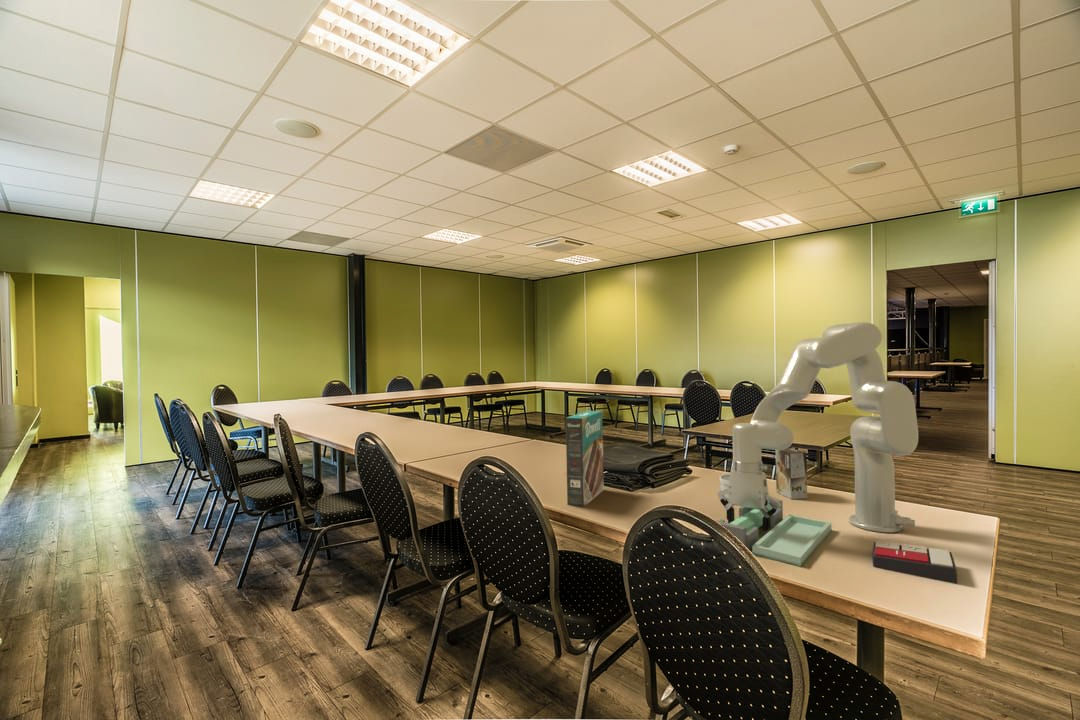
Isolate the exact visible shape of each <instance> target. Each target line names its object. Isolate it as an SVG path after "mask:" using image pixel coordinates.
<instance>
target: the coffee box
mask: <svg viewBox="0 0 1080 720" xmlns="http://www.w3.org/2000/svg"><path fill="white" fill-rule="evenodd" d="M807 463H808V462H807V452H805V451H802V450H798V449H795V448H792V447H788V448H786V449H784V450H775V476H776V477H775V478H776V479H775V480H776V481H775V482H776V493H777V494H780V495H782V496H783V497H785V498H788V499H790V500H799V499H808V475H807V474H808V473H807V472H808V471H807V470H808V469H807V467H808V466H807Z"/></svg>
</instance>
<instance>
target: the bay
mask: <svg viewBox="0 0 1080 720" xmlns="http://www.w3.org/2000/svg"><path fill="white" fill-rule="evenodd" d="M775 499H776V500H777V501H779V502H780V503H781V505H780V507H779V509H778V510H777V512H775V513H774V514H773V515H772V516H771V528H770V529H773V528H774V527H775V526H776V525H777V524H779V523H780V522H781V521H782V520H783V519H784V514H783V512H784V509H783V507H784V506H783V499H778V498H775ZM769 504H770V505H771V507H772V508H773V504H771V503H770V502H769ZM751 510H753V509H752V508H747V507H742V506H739V508H738V518H740V517H741V516H743V515H745V514H746V513H748V512H750V511H751ZM715 521H716V522H718V523H720V524H721V525H722V526H724V527H725V528H726V529H727V530H729V531H730V532H731V533H732V534H733V535H734V536H736V537H737V538H738V539H739V540H740V541H741V542H742V543H743V544H744V545H745V546H746V547H747V548H748V549H749V551H750V550H751V549H752V546H753V545H754V544H755V543H756V542H757V541H758V540H760V538H759V536H760V535H759V532H760V531H759V528H758V527H753V528H752V529H751V530H749V531H748V532H747V533H746V527H743V526H738V525H734V524H729V523H728V522H726V520H725V519H722V518H721V519H720V520H715Z"/></svg>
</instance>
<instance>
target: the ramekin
mask: <svg viewBox="0 0 1080 720" xmlns="http://www.w3.org/2000/svg"><path fill="white" fill-rule="evenodd" d="M729 478H730V473H724V474H721V475H720V476H719V482H720V491H722V490H725V489H728V487H729ZM724 496H725V498H726V499H727V500H728V494H725V495H724Z"/></svg>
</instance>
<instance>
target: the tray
mask: <svg viewBox="0 0 1080 720" xmlns="http://www.w3.org/2000/svg"><path fill="white" fill-rule="evenodd" d="M831 531H832V522H830V521H824V520H820V519H814V518H810V517H803V516H799V515H795V514H788V515H787V516H785V518H783V520H782V521H781V522H780V523H779V524H777V525H776V526H775V527H774V528H773V529H772V528H770V529H769V530H768V531H767V532H766V534H764V535H763V536H762V537H761V538H759V540H758V541H757V542H756V543H755V544H754V545H753V546H752V548H751V549H752V552H751V553H752V555H754V556H756V557H757V556H758V557H760V558H761V557H762V558H765V559H770V560H772V561H776V562H781V563H785V564H787V565H792V566H796V567H800V568H801V567H802V566H803V565H804V563H806V561H808V559H809V557H810V556H811V555H812V554H813V553H814V552H815V551H816V550H817V548H819V546H820V545H821V544H822V542H823V541H824V540H825V539H826V538H827V537H828V535H829V534H830V533H831Z"/></svg>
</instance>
